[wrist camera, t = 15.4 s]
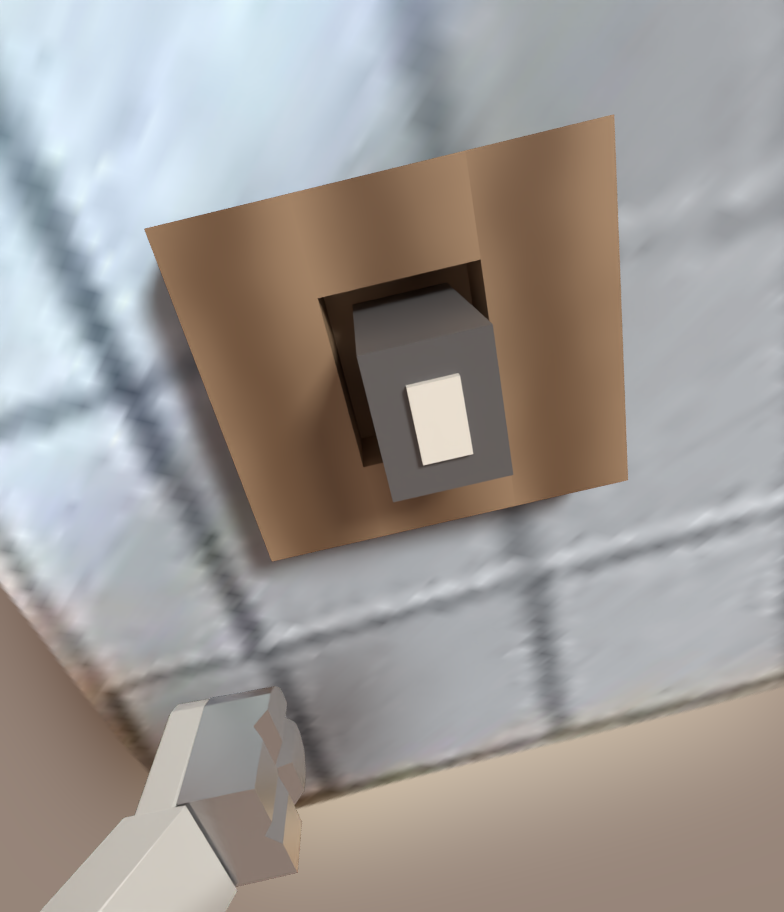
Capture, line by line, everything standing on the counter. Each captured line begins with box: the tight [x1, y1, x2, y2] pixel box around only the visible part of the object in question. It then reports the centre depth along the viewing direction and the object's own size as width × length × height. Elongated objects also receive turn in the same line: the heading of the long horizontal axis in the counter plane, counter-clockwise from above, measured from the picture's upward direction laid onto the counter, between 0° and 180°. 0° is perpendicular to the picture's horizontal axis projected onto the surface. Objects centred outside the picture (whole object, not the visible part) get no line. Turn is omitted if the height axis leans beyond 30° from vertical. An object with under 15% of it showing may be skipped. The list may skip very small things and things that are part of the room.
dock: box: [144, 115, 628, 561], centre depth 23 cm, size 16×14×4 cm
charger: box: [352, 282, 513, 502], centre depth 21 cm, size 4×5×8 cm
